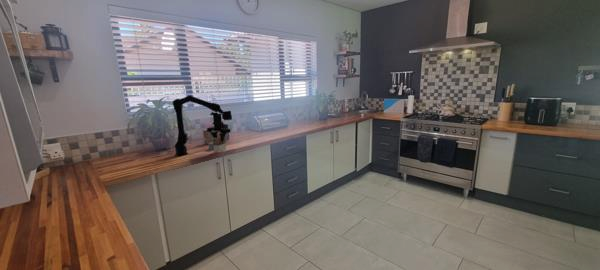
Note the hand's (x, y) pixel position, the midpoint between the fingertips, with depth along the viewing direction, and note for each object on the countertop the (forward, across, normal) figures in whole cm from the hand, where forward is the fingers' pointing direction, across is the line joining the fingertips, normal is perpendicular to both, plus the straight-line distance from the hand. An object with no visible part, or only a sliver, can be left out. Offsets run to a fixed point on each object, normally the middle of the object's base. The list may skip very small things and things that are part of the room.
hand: (219, 141), depth 186 cm
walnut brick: (+2, 0, 0) cm, 2 cm away
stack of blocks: (+7, +24, -19) cm, 31 cm away
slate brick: (+7, +8, -2) cm, 11 cm away
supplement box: (+7, +44, +12) cm, 46 cm away
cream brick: (+7, 0, 0) cm, 7 cm away
